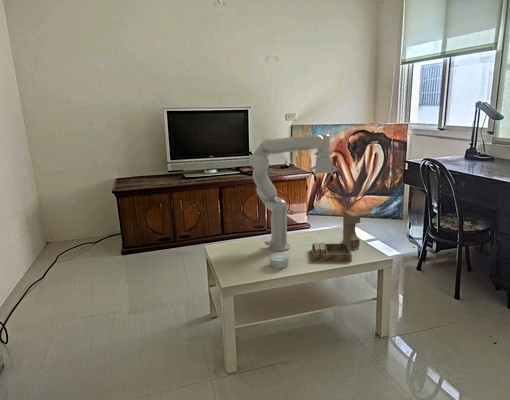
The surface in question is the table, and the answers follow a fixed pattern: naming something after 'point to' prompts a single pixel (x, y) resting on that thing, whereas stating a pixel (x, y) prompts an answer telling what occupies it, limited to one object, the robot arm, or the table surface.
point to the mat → (349, 246)
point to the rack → (333, 256)
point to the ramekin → (279, 260)
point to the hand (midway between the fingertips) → (323, 181)
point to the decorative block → (350, 228)
